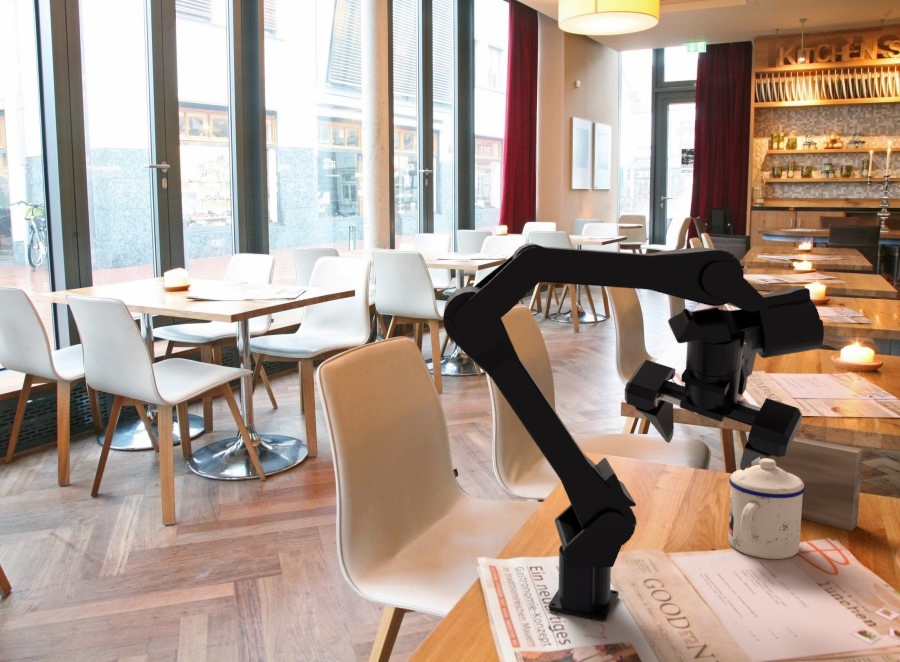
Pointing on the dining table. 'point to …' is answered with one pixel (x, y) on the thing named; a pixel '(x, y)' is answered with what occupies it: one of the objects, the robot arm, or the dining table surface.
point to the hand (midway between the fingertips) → (705, 453)
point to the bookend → (825, 480)
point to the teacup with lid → (765, 511)
